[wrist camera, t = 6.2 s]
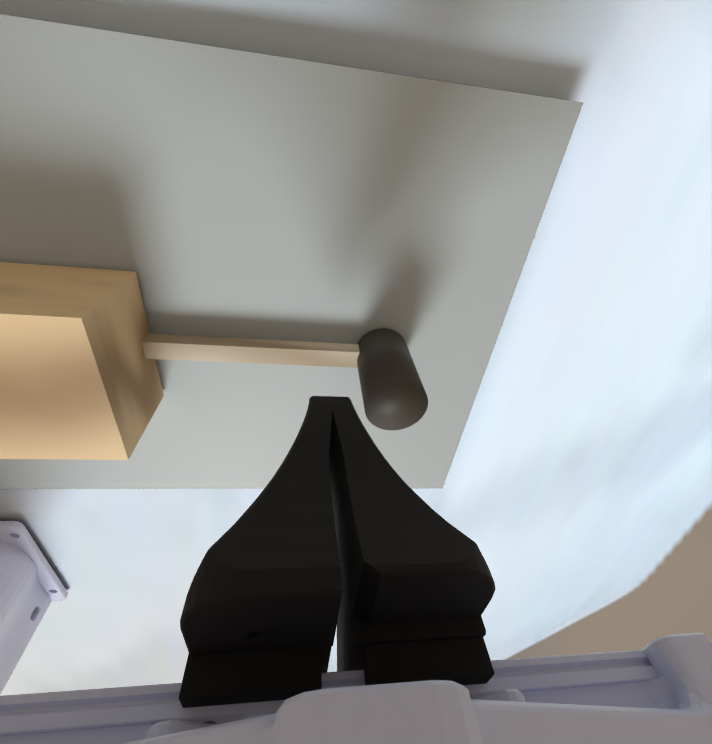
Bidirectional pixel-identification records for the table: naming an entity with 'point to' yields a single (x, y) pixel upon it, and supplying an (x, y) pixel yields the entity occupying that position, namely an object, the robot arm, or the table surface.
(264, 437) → the lane
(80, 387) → the wooden mallet
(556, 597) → the table surface
